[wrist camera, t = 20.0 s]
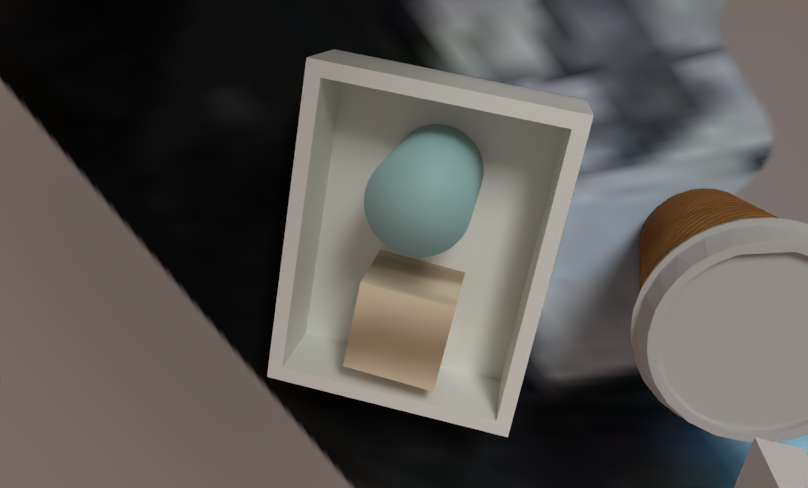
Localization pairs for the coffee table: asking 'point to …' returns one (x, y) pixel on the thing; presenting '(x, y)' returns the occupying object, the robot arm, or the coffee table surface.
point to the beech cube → (403, 319)
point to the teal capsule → (425, 191)
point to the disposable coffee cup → (724, 315)
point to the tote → (473, 254)
